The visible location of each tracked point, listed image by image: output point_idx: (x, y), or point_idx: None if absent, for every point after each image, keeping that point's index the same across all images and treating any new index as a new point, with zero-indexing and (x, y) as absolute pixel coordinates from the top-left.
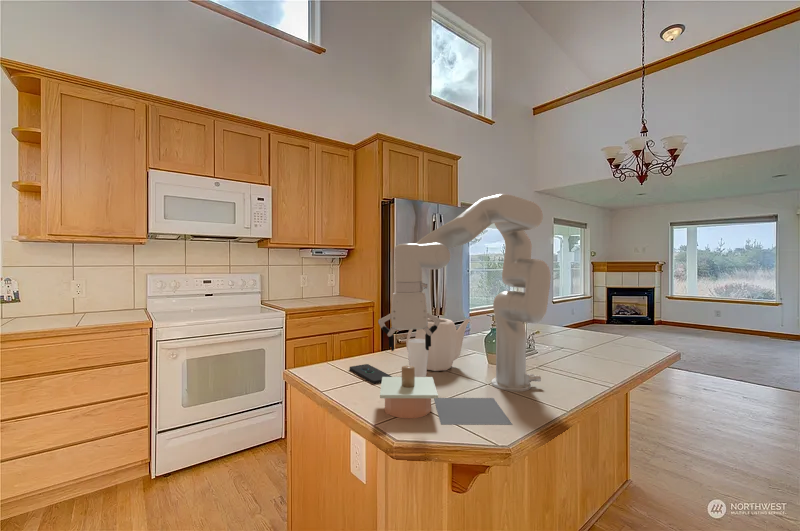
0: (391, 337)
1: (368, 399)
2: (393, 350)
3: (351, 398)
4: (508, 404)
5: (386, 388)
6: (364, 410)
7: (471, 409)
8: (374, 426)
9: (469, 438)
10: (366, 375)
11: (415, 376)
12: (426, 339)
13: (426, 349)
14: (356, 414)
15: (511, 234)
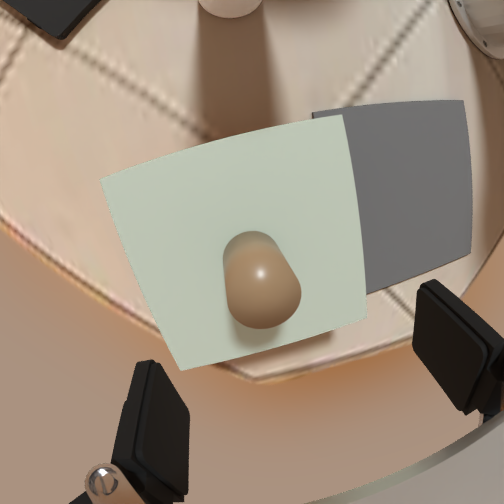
0: (173, 497)
1: (85, 181)
2: (185, 409)
3: (38, 194)
4: (482, 133)
5: (175, 315)
6: (113, 268)
7: (419, 190)
8: None
9: (391, 327)
10: (26, 7)
11: (227, 3)
12: (451, 396)
13: (415, 348)
14: (107, 298)
15: None
